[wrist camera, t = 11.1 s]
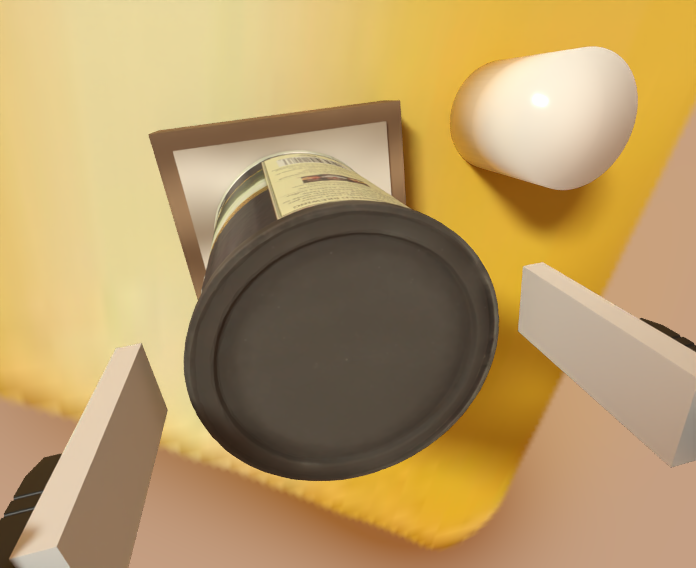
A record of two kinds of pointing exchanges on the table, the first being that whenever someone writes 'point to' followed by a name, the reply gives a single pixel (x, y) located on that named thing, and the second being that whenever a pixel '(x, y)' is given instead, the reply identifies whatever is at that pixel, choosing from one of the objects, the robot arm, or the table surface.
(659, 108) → the table surface
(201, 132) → the picture frame
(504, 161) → the cream egg shape
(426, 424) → the coffee can
